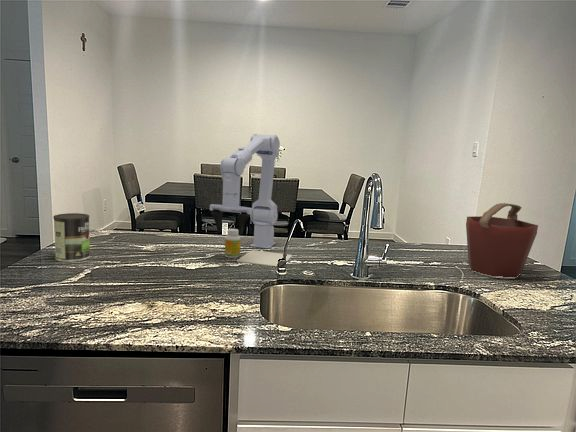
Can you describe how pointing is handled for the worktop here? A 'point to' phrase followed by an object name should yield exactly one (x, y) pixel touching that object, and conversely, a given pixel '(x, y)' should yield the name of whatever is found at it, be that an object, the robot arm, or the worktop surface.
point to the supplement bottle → (232, 244)
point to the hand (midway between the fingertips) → (229, 232)
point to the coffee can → (71, 237)
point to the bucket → (499, 242)
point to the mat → (262, 258)
